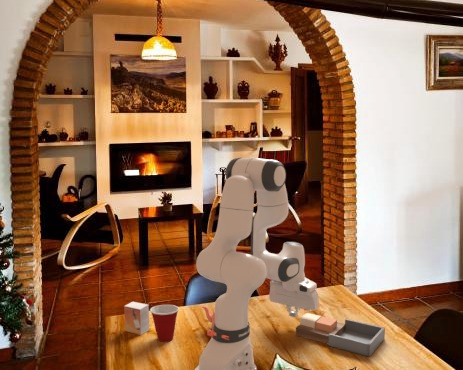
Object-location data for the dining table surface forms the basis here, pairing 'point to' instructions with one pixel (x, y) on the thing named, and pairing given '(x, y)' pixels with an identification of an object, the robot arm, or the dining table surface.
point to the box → (358, 338)
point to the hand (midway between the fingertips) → (293, 316)
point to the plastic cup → (164, 321)
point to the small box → (136, 318)
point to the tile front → (326, 324)
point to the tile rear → (309, 320)
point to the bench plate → (319, 332)
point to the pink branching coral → (210, 316)
